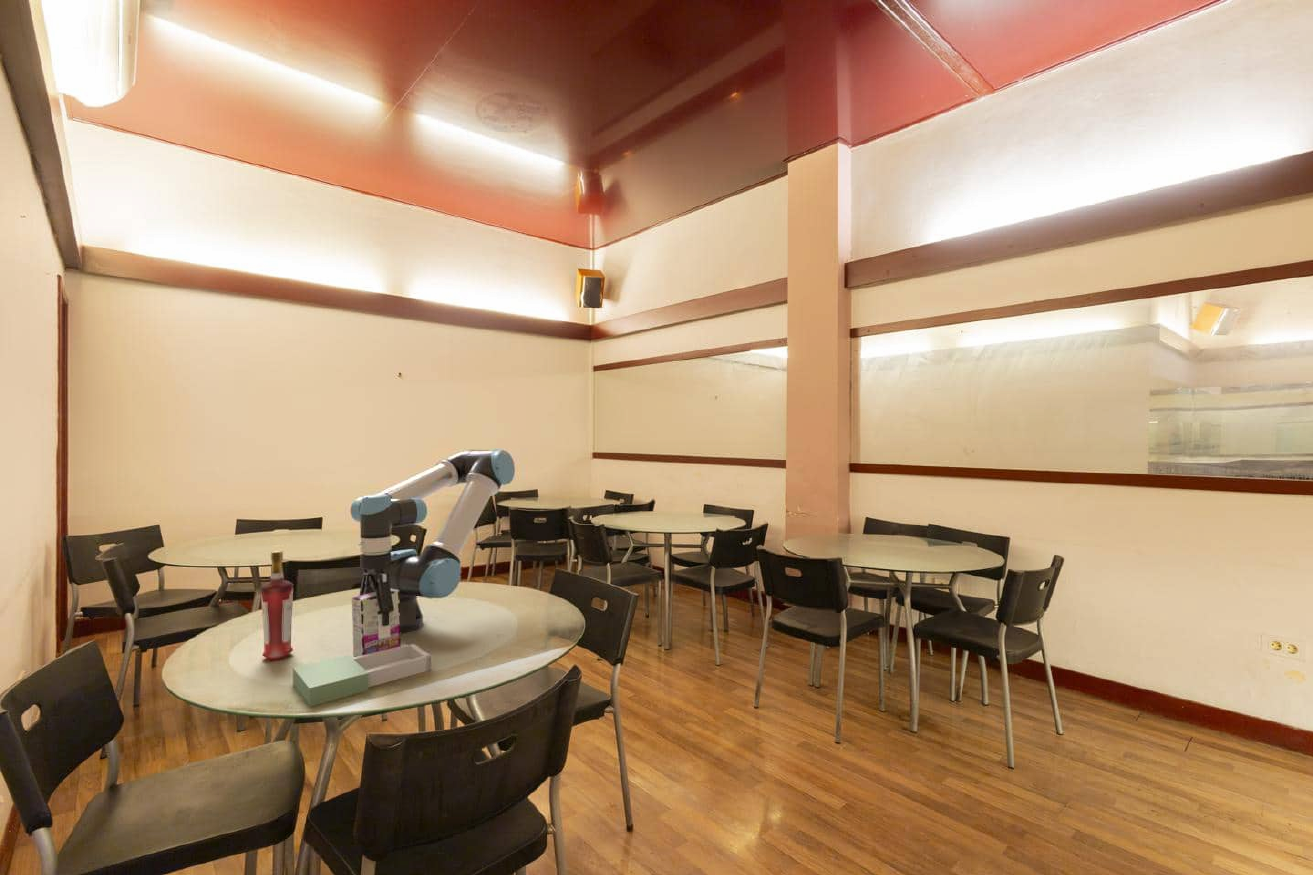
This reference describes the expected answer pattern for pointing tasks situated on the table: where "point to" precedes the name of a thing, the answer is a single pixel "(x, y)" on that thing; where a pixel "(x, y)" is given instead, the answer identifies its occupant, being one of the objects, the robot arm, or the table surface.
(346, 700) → the table surface
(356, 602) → the candy bar box
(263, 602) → the liquor
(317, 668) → the sliding drawer box
